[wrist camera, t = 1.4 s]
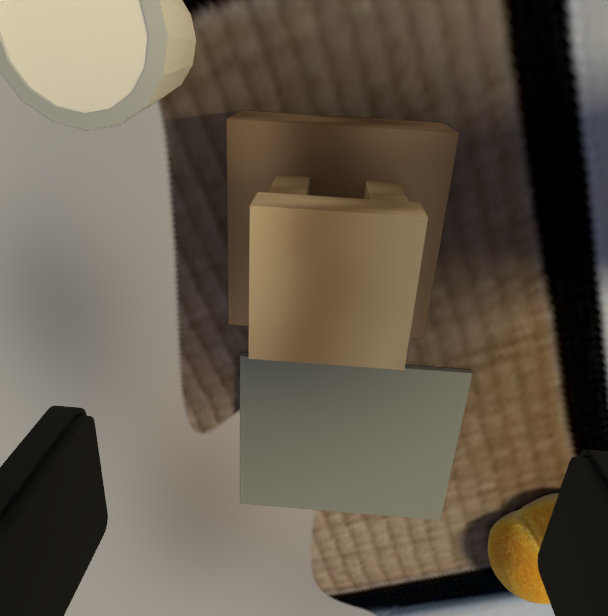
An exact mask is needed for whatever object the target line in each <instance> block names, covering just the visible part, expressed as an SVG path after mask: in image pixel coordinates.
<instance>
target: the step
mask: <svg viewBox="0 0 608 616" xmlns="http://www.w3.org/2000/svg"><path fill="white" fill-rule="evenodd" d="M226 121H227V222H228V323H229V324H230V325H243V326H249V243H250V205H251V203H252V201H253V199H254V198H255V196H256V194H257V193H258V192H265V193H268V191H269V189H270V187H271V185H272V183H273V181H274V179H275V177H276V175H288V176H304V177H310V186H309V195H311V196H327V197H342V198H357V199H364V193H365V184H366V181H381V182H397V183H400V185H401V187H402V189H403V191H404V193H405V195H406V197H407V199H408V201H409V202H419V203H420V204H421V205H422V207H423V209H424V211H425V213H426V214H427V216H428V222H427V228H426V235H425V241H424V248H423V254H422V261H421V267H420V273H419V280H418V286H417V293H416V299H415V305H414V312H413V318H412V325H411V331H410V338H423V339H424V337H425V331H426V325H427V319H428V313H429V308H430V302H431V296H432V290H433V284H434V278H435V272H436V266H437V260H438V254H439V248H440V243H441V237H442V231H443V225H444V219H445V213H446V207H447V201H448V195H449V189H450V184H451V178H452V172H453V166H454V160H455V154H456V148H457V142H458V136H459V133H458V132H456V131H455V130H453V129H452V128H450V127H449V126H447V125H445V124H444V123H441V122H425V121H408V120H392V119H375V118H359V117H343V116H326V115H310V114H293V113H277V112H260V111H244V110H241V111H239V112H238V113H236V114H234V115H233V116H231V117H229V118H227V119H226Z"/></svg>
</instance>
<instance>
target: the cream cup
mask: <svg viewBox="0 0 608 616" xmlns="http://www.w3.org/2000/svg"><path fill="white" fill-rule="evenodd" d="M195 46H196V37H195V32H194V27H193V23H192V18H191V14H190V12H189V11H188V9H187V7H186V6H185V4H184V3H183V1H182V0H0V73H1V74H2V75H3V77H4V78H5V79H6V81H7V82H8V83H9V85H10V86H11V87H12V89H13V90H14V91H15V92H16V94H17V95H18V96H19V98H20V99H21V100H22V101H24V102H25V103H26V104H28V105H29V106H31V107H32V108H34V109H35V110H36V111H38V112H39V113H41V114H42V115H44V116H45V117H47V118H48V119H49V120H51V121H52V122H56V123H59V124H64V125H67V126H71V127H75V128H79V129H83V130H93V129H99V128H106V127H112V126H118V125H121V124H122V123H124V122H125V121H127V120H128V119H130V118H131V117H133V116H135V115H136V114H138V113H139V112H141V111H143V110H144V109H146V108H147V107H149V106H150V105H152V104H154V103H155V102H157V101H158V100H160V99H161V98H163V97H165V96H166V95H167V94H169V93H170V92H172V91H173V90H174V89H176V88H177V87H179V86H180V85H182V83H183V81H184V79H185V78H186V76H187V74H188V72H189V71H190V69H191V67H192V65H193V60H194V53H195Z"/></svg>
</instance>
